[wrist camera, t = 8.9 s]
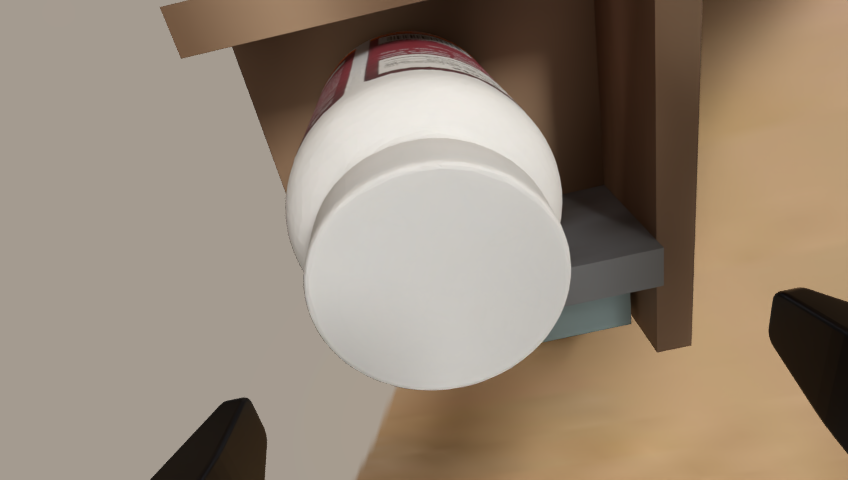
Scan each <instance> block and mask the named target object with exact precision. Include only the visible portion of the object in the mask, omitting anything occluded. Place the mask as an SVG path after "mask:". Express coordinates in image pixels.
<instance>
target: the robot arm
mask: <svg viewBox="0 0 848 480" xmlns="http://www.w3.org/2000/svg"><path fill="white" fill-rule="evenodd" d="M769 337H770V340H771V343H772V345H773V347H774V348H775V350H776V351H777V353H778V354H779V356H780V357H781V359H782V360H783V362H784V364H785V365H786V367H787V368H788V370H789V371H790V373H791V374H792V376H793V377H794V379H795V381H796V382H797V384H798V385H799V387H800V388H801V390H802V391H803V393H804V394H805V396H806V398H807V399H808V401H809V402H810V404H811V405H812V407H813V408H814V410H815V411H816V413H817V414H818V416H819V417H820V419H821V420H822V422H823V423H824V424H825V426H826V427H827V428H828V430H829V431H830V432H831V433H832V435H833V436H834V437H835V439H836V440H837V441H838V442H839V444H840V445H841V446H842V447H843V449H844V450H845V451H846V452H847V454H848V302H846V301H843V300H840V299H837V298H834V297H831V296H828V295H825V294H822V293H819V292H816V291H813V290H810V289H807V288H794V289H789V290H784V291H780V292H778V293H776V294H775V296H774V297H773V302H772V309H771V316H770V323H769ZM266 450H267V437H266V433H265V429H264V427H263V425H262V423H261V421H260V419H259V416H258V414H257V413H256V410H255V408H254V406H253V404H252V402H251V401H250V400H249V399H248V398H239V399H234V400H229V401H225V402H223V403H222V404H221V405H220V406H219V407H218V408H217V409H216V410H215V411H214V412H213V413H212V415H211V416H209V418H208V419H207V420H206V421H205V422H204V423H203V424H202V425H201V426H200V427H199V428H198V429H197V430H196V431H195V432H194V434H193V435H192V436H191V437H190V438H189V439H188V440H187V441H186V442H185V443H184V444H183V445H182V446H181V447H180V448H179V450H178V451H177V452H176V453H175V454H174V455H173V456H172V457H171V458H170V459H169V460H168V461H167V462H166V464H164V466H163V467H162V468H161V469H160V470H159V471H158V472H157V473H156V474H155V475H154V476H153V477H152V478H151V480H265V465H266Z"/></svg>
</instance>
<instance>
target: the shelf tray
mask: <svg viewBox="0 0 848 480" xmlns="http://www.w3.org/2000/svg"><path fill="white" fill-rule="evenodd" d="M702 7H703V0H188V1H183V2H180V3H175V4H171V5H167V6H163V7H160V9H161V11H162V14H163V16H164V18H165V21H166V23H167V26H168V28H169V30H170V33H171V35H172V38H173V40H174V43H175V45H176V47H177V50H178V52H179V55H180V57H181V58H185V57H190V56H194V55H198V54H203V53H207V52H211V51H215V50H219V49H223V48H228V47H232V48H233V50H234V53H235V56H236V59H237V61H238V64H239V67H240V69H241V72H242V75H243V77H244V80H245V83H246V86H247V89H248V91H249V94H250V97H251V99H252V102H253V105H254V108H255V110H256V113H257V116H258V119H259V121H260V124H261V127H262V129H263V132H264V135H265V137H266V140H267V143H268V146H269V148H270V151H271V154H272V156H273V159H274V162H275V165H276V168H277V170H278V173H279V176H280V178H281V181H282V184H283V187H284V189H285V192H287V185H288V180H289V176H290V172H291V169H292V166H293V162H294V159H295V156H296V154H297V151H298V148H299V146H300V144H301V142H302V140H303V137H304V134H305V132H306V130H307V127H308V125H309V122H310V120H311V117H312V115H313V113H314V110H315V108H316V105H317V102H318V100H319V98H320V95H321V92H322V90H323V88H324V86H325V84H326V82H327V80H328V78H329V77H330V75H331V73H332V72H333V71H334V69H335V68H336V66H337V65H338V64H339V63H340V62H341V60H342V59H343V58H344V57H345V56H346V55H347V54H348V53H349V52H351V51H352V50H353V49H355V48H356V47H358V46H359V45H361V44H362V43H364V42H366V41H368V40H370V39H372V38H375V37H377V36H380V35H384V34H387V33H392V32H398V31H417V32H424V33H429V34H432V35H436V36H439V37H441V38H444V39H446V40H448V41H450V42H452V43H454V44H456V45H457V46H459V47H461V48H462V49H463V50H465V51H466V52H467V53H468V54H469V55H471V56H472V57H473V58H474V59H475V60H476V61H477V62H478V63H479V65H480V66H481V67H482V68H483V69H484V70H485V71H486V72H487V73H488V74H489V75H490V76H491V77H492V78H493V79H494V80H495V81H496V82H497V83H498V84H499V86H500V87H501V88H502V89H503V90H504V91H505V92H507V94H508V95H509V96H510V97H511V98H512V99H513V100H514V101H515V102H516V103H517V104H518V105H519V106H520V107H521V108H522V109H523V110H524V111H525V113H526V114H527V115H528V116H529V117H530V118H531V120H532V121H533V122H534V123H535V124H536V126H537V127H538V128H539V130H540V131H541V133H542V134H543V136H544V137H545V139H546V141H547V143H548V145H549V147H550V149H551V151H552V153H553V156H554V158H555V161H556V164H557V168H558V172H559V176H560V181H561V188H562V214H561V221H560V224H561V226H562V229H563V231H564V234H565V236H566V239H567V243H568V246H569V252H570V261H571V279H570V286H569V291H568V295H567V299H566V302H565V305H564V308H563V310H562V312H561V314H560V317H559V318H558V320H557V322H556V323H555V325H554V327H553V328H552V330H551V331H550V333H549V334H548V336H547V337H546V338H545V339H544V340H543V342H547V341H552V340H556V339H561V338H566V337H571V336H575V335H580V334H585V333H590V332H595V331H599V330H604V329H609V328H614V327H618V326H623V325H628V324H631V315H632V316H633V318H634V319H635V321H636V322H637V324H638V325H639V327H640V328H641V329H642V331H643V332H644V334H645V335H646V337H647V338H648V340H649V341H650V343H651V344H652V346H653V347H654V348H655V350H656V351H657V352H662V351H666V350H671V349H676V348H681V347H686V346H691V339H692V309H693V279H694V249H695V219H696V188H697V158H698V128H699V98H700V68H701V37H702Z"/></svg>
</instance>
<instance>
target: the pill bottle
mask: <svg viewBox="0 0 848 480" xmlns="http://www.w3.org/2000/svg"><path fill="white" fill-rule="evenodd" d="M561 214H562V188H561V181H560V176H559V172H558V168H557V164H556V161H555V158H554V156H553V153H552V151H551V149H550V147H549V145H548V143H547V141H546V139H545V137H544V136H543V134H542V133H541V131H540V130H539V128H538V127H537V126H536V124H535V123H534V122H533V121H532V120H531V118H530V117H529V116H528V115H527V114H526V113H525V111H524V110H523V109H522V108H521V107H520V106H519V105H518V104H517V103H516V102H515V101H514V100H513V99H512V98H511V97H510V96H509V95H508V94H507V92H505V91H504V90H503V89H502V88H501V87H500V86H499V84H498V83H497V82H496V81H495V80H494V79H493V78H492V77H491V76H490V75H489V74H488V73H487V72H486V71H485V70H484V69H483V68H482V67H481V66H480V65H479V63H478V62H477V61H476V60H475V59H474V58H473V57H472V56H471V55H469V54H468V53H467V52H466V51H465V50H463V49H462V48H461V47H459V46H457V45H456V44H454V43H452V42H450V41H448V40H446V39H444V38H441V37H439V36H436V35H432V34H429V33H424V32H417V31H398V32H392V33H387V34H384V35H380V36H377V37H375V38H372V39H370V40H368V41H366V42H364V43H362V44H361V45H359V46H358V47H356V48H355V49H353V50H352V51H351V52H349V53H348V54H347V55H346V56H345V57H344V58H343V59H342V60H341V62H340V63H339V64H338V65H337V66H336V68H335V69H334V71H333V72H332V73H331V75H330V77H329V78H328V80H327V82H326V84H325V86H324V88H323V90H322V92H321V95H320V98H319V100H318V102H317V105H316V108H315V110H314V113H313V115H312V117H311V120H310V122H309V125H308V127H307V130H306V132H305V134H304V137H303V140H302V142H301V144H300V146H299V148H298V151H297V154H296V156H295V159H294V162H293V166H292V169H291V172H290V176H289V180H288V185H287V192H286V222H287V229H288V235H289V239H290V242H291V245H292V248H293V251H294V253H295V255H296V258H297V260H298V262H299V264H300V266H301V268H302V270H303V271H304V276H303V279H304V293H305V299H306V303H307V308H308V311H309V314H310V316H311V319H312V321H313V323H314V325H315V327H316V329H317V331H318V333H319V334H320V336H321V337H322V339H323V340H324V341H325V342H326V344H327V345H328V346H329V347H330V349H331V350H332V351H334V353H335V354H336V355H338V357H339V358H341V359H342V360H343V361H344V362H345V363H347V364H348V365H350V366H351V367H352V368H354V369H356V370H357V371H359V372H361V373H363V374H364V375H366V376H368V377H370V378H373V379H375V380H377V381H380V382H383V383H386V384H390V385H393V386H396V387H401V388H406V389H414V390H447V389H453V388H460V387H465V386H469V385H473V384H477V383H480V382H482V381H485V380H488V379H490V378H492V377H495V376H497V375H499V374H501V373H503V372H505V371H507V370H508V369H510V368H512V367H514V366H515V365H516V364H518V363H519V362H520V361H522V360H523V359H524V358H526V357H527V356H528V355H529V354H530V353H531V352H533V351H534V350H535V349H536V348H537V347H538V346H539V345H540V344H541V343H542V342H543V340H544V339H545V338H546V337H547V336H548V334H549V333H550V331H551V330H552V328H553V327H554V325H555V323H556V322H557V320H558V318H559V317H560V314H561V312H562V310H563V308H564V305H565V302H566V299H567V295H568V291H569V286H570V279H571V261H570V252H569V246H568V243H567V239H566V236H565V234H564V231H563V229H562V226H561V224H560V221H561Z"/></svg>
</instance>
